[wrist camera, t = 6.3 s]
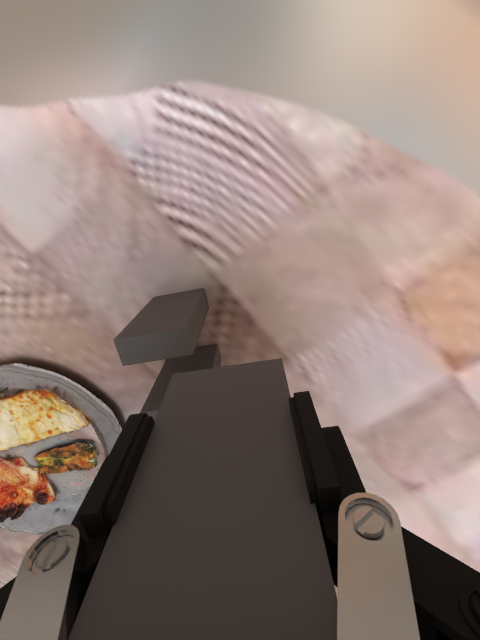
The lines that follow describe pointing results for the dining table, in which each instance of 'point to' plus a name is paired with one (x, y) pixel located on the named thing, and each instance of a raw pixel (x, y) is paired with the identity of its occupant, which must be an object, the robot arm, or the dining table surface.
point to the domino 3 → (216, 523)
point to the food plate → (46, 446)
